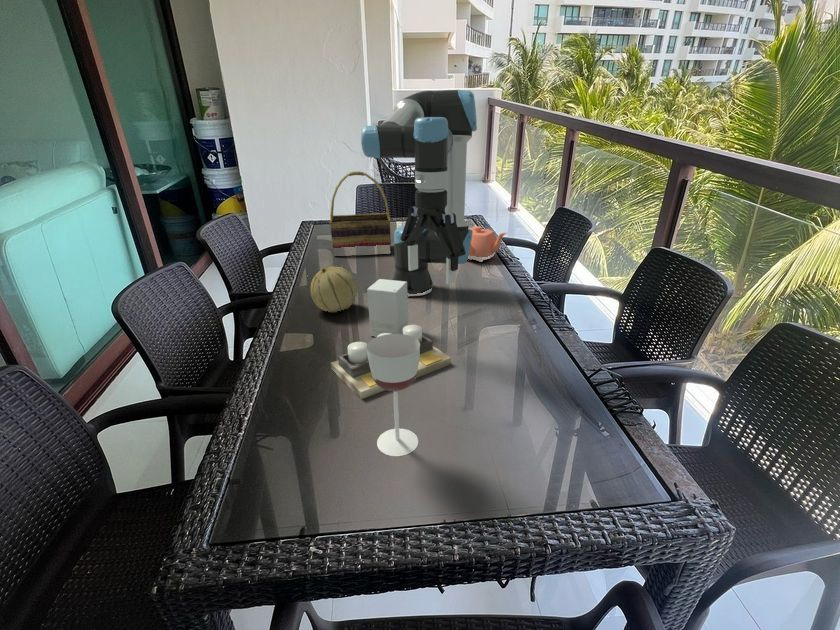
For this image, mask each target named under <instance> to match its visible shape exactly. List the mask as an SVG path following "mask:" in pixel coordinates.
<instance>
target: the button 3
mask: <svg viewBox="0 0 840 630" xmlns="http://www.w3.org/2000/svg"><path fill="white" fill-rule="evenodd" d="M403 334H404V335H409V336H412V337H414V338H416V339H417V340H418V341H419V343H421V342H422V335H423V329H422V326H420V325H417V324H409V325H407V326H405V327H404V328H403Z"/></svg>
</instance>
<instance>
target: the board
mask: <svg viewBox="0 0 840 630" xmlns="http://www.w3.org/2000/svg"><path fill="white" fill-rule="evenodd" d="M433 343H434V341H433V340H432V339H430V338H429V337H427V336H426V335H424V334H422V342H421V343H420V356H419V365H418V370H417V375H416V378H415V379H417V378H420V377H422V376H425V375H429V374H430V373H433V372H436V371H437V370H441V369H443V368H445V367H448V366H450V365H451V364H452V358H451V356H449V355H447V354H446V353H445V352H443V351H442V350H440V349H438V348H437V347H435V346H434V344H433ZM330 368H331V369H332V370H333V371H334V372H335V373H336V374H335V373H334V372H333V371H332V372H333V373H334V374H335V375H336V376H337V377H338V378H339V379H340V380H341V381H342V382H343V383H344V384H345V385H347V387H348V388H349V389H350V390H351V391H352V392H353V393H354V394H355V395H356V396H357V397H358V398H360V400H363V399H366V398H369V397H372V396H375V395H376V394H379V393H382V392H384V391H386V390H385V389H382V388H381V387H379V386H378V385H377V384H376V383H375V381H374V379H373V376H372V373H371V370H370V366H369V360H368V361H367V362H366V363H363V364H352V363H350V362H349V358H348V352H347V353H344V354H340V355H338V356H337V360H335V361H332V362H330Z"/></svg>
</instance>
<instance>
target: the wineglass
mask: <svg viewBox="0 0 840 630" xmlns="http://www.w3.org/2000/svg"><path fill="white" fill-rule="evenodd" d="M367 354H368V360H369V366H370V370H371V373H372V376H373V379H374V381H375V383H376V384H377V385H378V386H379V387H381V388H382V389H385V390H384V391H389V392H393V414H394V418H393V419H394V428H391V429H388V430H385V431H384V432H382V433H381V434H380V435H379V437H378V438H377V441H376V445H377V448H378V450H379V451H380V452H381V453H383V454H385V455H387V456H390V457H401V456H406V455H408V454H410V453H413V451H414V450H416V448H417V447H418V445H419V438H418V436H417V434H415V433H414V432H413V431H411V430H409V429H406V428H400V422H399V421H400V417H399V416H400V415H399V393H398V392H399V391H403V390H406V389H407V388H409V387H411V386H412V385H413V383H414V382H415V381H416V379H417V378H416V375H417V370H418V365H419V356H420V343H419V341H418V340H417V339H416V338H414V337H412V336H409V335H404V334H388V335H382V336H379V337H373V338H372V339H371V340H370V341H368V343H367Z"/></svg>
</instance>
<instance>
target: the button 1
mask: <svg viewBox="0 0 840 630" xmlns="http://www.w3.org/2000/svg"><path fill="white" fill-rule="evenodd" d="M367 344H368V343H367V342H364V341H354V342H351V343H349V344H348V346H347V353H348V358H349V362H350V363H352V364H363V363H366V362H367V361H368V354H367Z"/></svg>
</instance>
